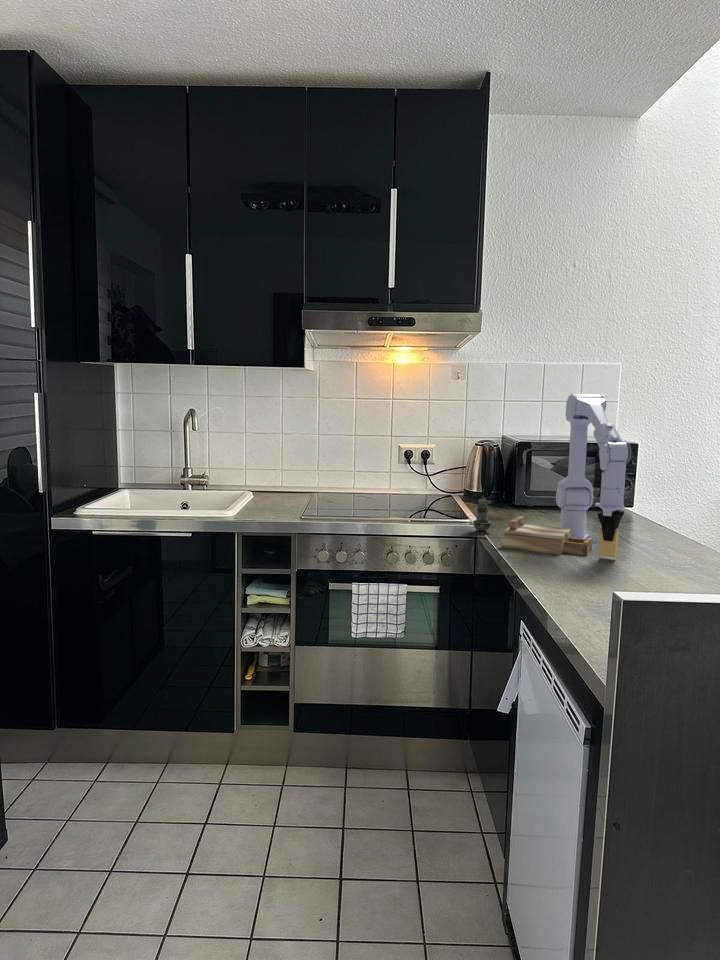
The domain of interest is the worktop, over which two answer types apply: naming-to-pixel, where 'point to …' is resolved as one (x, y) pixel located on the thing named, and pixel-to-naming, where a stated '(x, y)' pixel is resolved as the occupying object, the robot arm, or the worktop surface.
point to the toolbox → (548, 544)
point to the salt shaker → (482, 518)
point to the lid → (535, 529)
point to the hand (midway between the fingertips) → (609, 539)
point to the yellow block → (609, 545)
